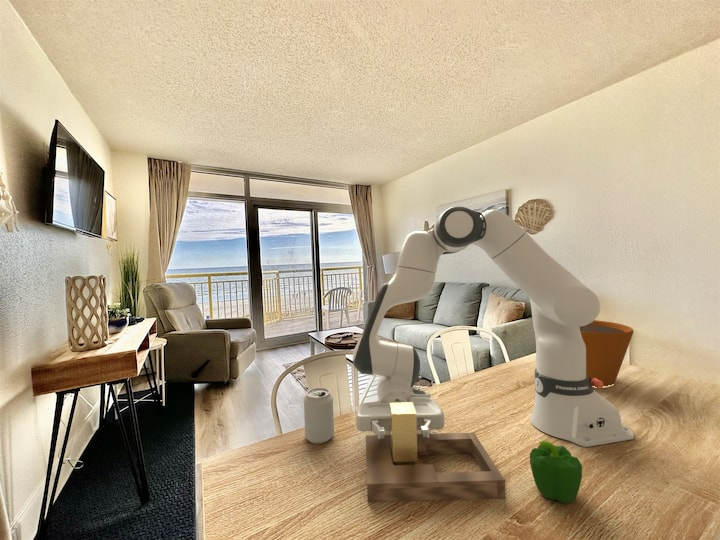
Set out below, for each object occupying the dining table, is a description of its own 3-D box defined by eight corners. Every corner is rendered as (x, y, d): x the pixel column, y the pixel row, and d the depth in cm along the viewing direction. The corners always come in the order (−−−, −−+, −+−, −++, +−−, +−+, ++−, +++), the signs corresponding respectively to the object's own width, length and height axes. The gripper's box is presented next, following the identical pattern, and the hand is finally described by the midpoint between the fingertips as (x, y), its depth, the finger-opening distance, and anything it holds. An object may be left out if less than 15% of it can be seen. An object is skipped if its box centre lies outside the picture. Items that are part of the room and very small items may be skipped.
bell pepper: (578, 486, 61) (578, 436, 60) (585, 517, 53) (585, 460, 53) (530, 473, 65) (529, 426, 64) (530, 500, 57) (529, 447, 57)
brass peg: (419, 459, 70) (417, 399, 70) (426, 484, 62) (425, 417, 62) (384, 460, 70) (382, 400, 70) (387, 485, 62) (385, 418, 62)
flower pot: (604, 400, 95) (604, 336, 95) (535, 374, 118) (535, 322, 117) (649, 387, 104) (649, 328, 103) (578, 365, 126) (577, 316, 126)
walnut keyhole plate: (474, 446, 74) (473, 432, 74) (505, 498, 58) (505, 480, 58) (366, 449, 74) (365, 435, 74) (367, 501, 58) (367, 483, 58)
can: (329, 447, 76) (327, 398, 75) (300, 444, 77) (298, 397, 77) (337, 430, 83) (336, 386, 83) (311, 428, 85) (309, 385, 84)
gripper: (355, 393, 79) (354, 421, 65) (435, 391, 79) (451, 419, 65) (355, 417, 79) (354, 451, 65) (435, 415, 79) (451, 448, 65)
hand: (403, 435), depth 65 cm, fingers open, 8 cm apart
